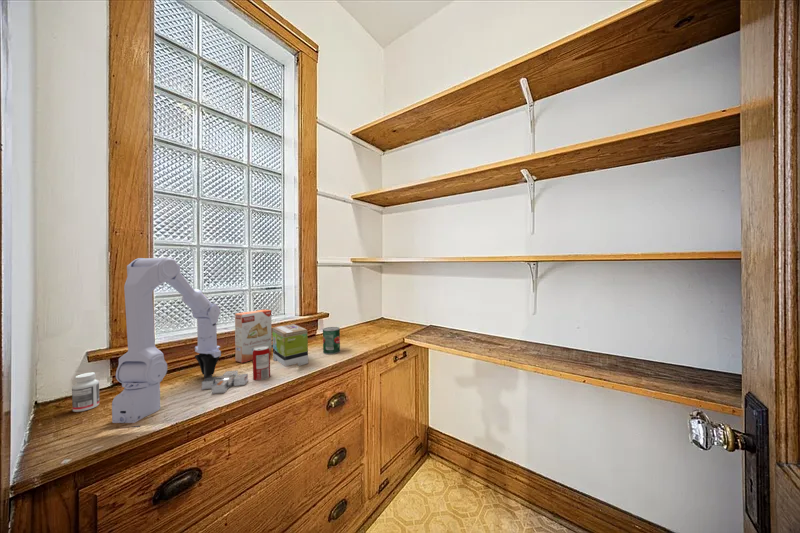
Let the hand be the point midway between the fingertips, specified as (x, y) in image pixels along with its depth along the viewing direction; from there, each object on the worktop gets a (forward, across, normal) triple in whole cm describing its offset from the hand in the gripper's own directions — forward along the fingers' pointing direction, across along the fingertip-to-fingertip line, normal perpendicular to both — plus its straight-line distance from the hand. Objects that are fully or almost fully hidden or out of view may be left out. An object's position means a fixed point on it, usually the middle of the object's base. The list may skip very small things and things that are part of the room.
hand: (208, 374), depth 102 cm
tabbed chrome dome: (+1, -13, +1) cm, 13 cm away
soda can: (+3, -17, -10) cm, 20 cm away
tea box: (+3, -10, -28) cm, 29 cm away
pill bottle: (+3, +10, +28) cm, 30 cm away
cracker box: (+3, +10, -23) cm, 26 cm away
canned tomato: (+3, -15, -47) cm, 49 cm away
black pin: (+2, 0, 0) cm, 2 cm away
